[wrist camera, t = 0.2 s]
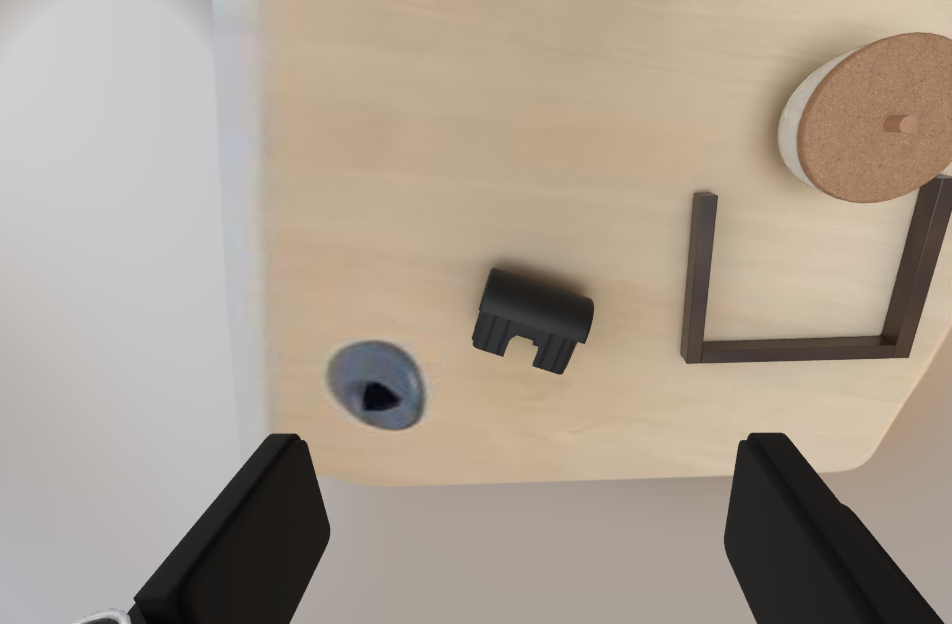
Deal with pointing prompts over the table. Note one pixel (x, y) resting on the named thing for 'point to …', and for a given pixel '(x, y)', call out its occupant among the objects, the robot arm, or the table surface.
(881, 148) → the trinket box
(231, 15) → the table surface
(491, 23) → the table surface
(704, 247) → the frame
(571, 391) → the table surface
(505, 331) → the end cap
